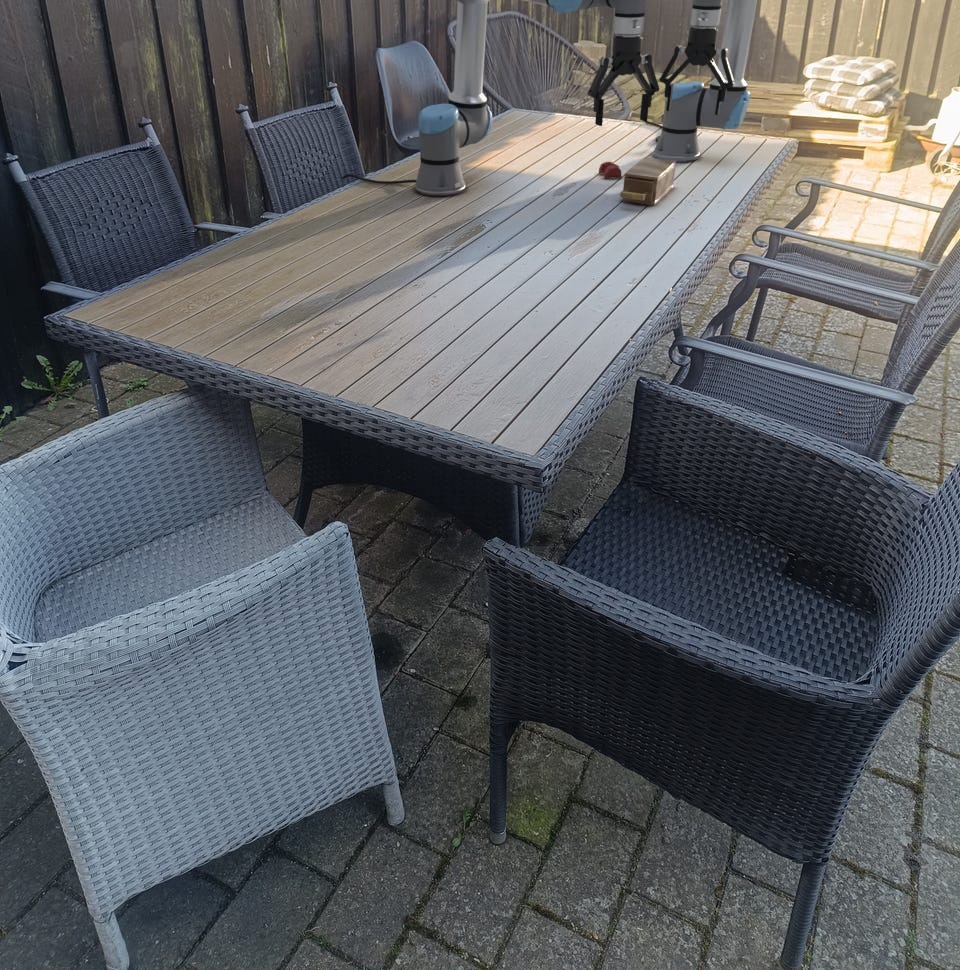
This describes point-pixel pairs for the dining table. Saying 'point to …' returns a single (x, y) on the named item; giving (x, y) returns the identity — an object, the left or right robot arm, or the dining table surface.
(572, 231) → the dining table surface
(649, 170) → the cabinet
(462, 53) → the left robot arm
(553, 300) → the dining table surface
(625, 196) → the drawer
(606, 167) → the dental model
